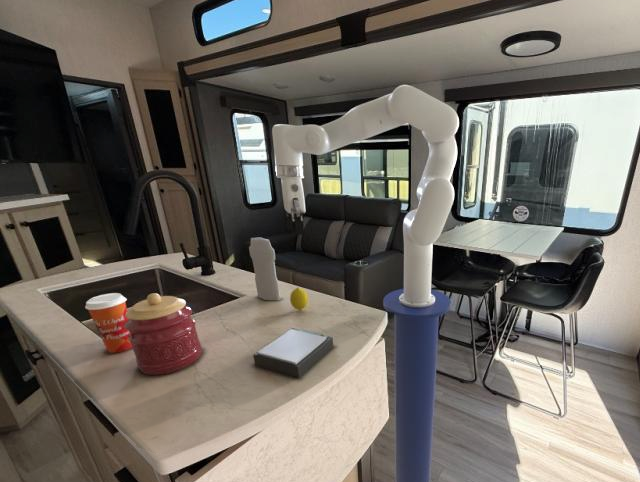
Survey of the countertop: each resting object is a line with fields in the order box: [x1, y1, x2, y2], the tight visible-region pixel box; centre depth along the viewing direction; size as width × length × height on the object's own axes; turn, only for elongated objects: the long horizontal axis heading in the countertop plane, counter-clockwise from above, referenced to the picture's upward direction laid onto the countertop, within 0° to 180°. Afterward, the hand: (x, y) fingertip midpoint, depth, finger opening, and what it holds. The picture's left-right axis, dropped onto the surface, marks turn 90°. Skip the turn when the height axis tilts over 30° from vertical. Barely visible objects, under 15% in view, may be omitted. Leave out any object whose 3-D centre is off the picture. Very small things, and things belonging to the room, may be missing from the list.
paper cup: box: [85, 292, 133, 354], centre depth 81 cm, size 8×8×14 cm
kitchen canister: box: [124, 292, 202, 376], centre depth 75 cm, size 13×13×18 cm
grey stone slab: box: [248, 237, 281, 301], centre depth 110 cm, size 11×4×22 cm, turn 69°
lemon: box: [289, 287, 309, 311], centre depth 103 cm, size 6×6×8 cm
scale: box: [252, 327, 334, 379], centre depth 79 cm, size 14×13×4 cm
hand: (295, 231), depth 97 cm, fingers open, 9 cm apart
